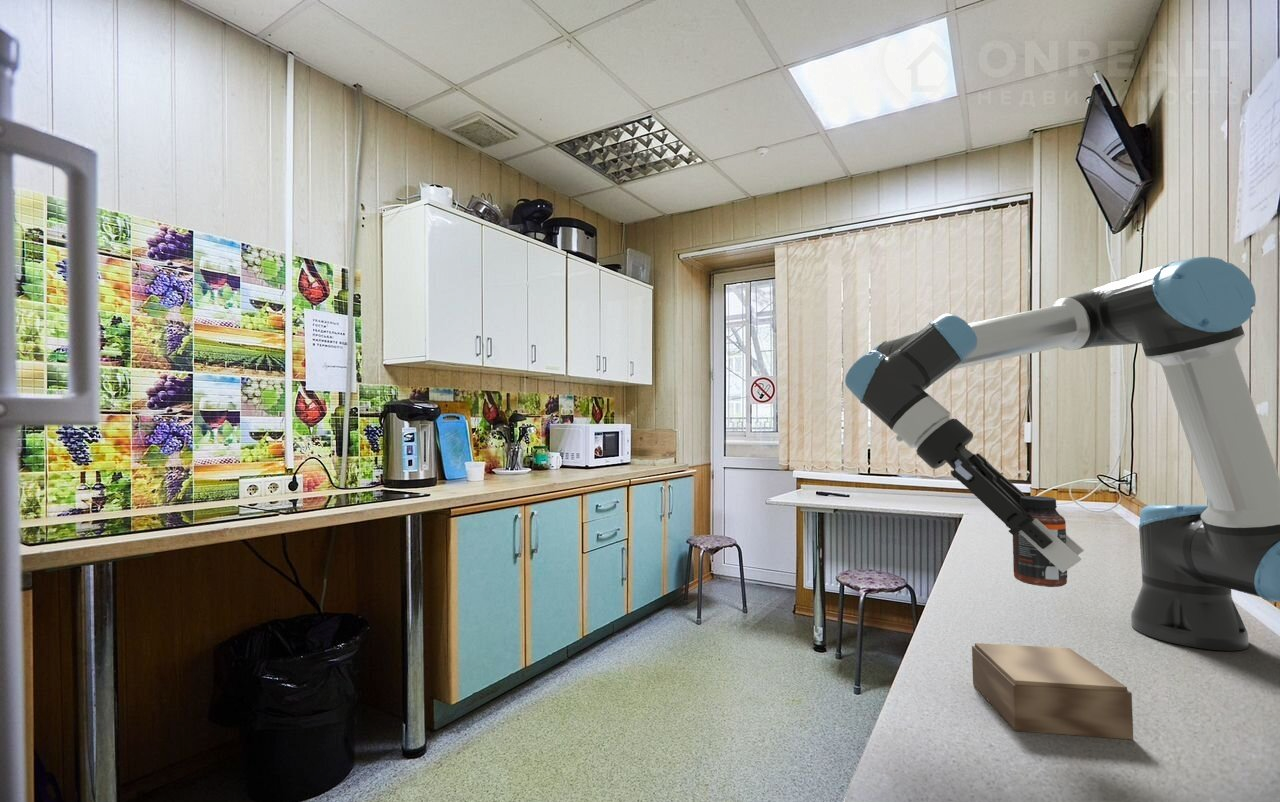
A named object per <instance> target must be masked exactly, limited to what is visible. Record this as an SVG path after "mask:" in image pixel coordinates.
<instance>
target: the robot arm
mask: <svg viewBox="0 0 1280 802" xmlns="http://www.w3.org/2000/svg"><path fill="white" fill-rule="evenodd" d="M1256 301H1257V299H1256V290H1255V288H1254V285H1253V283H1252V281H1251V279H1250V278H1249V277H1248V275H1247V274H1246V273H1245V272H1244V271H1243V270H1242V269H1240V268H1239V267H1238V266H1237V265H1235V264H1234V263H1231V262H1227V261H1225V260H1223V259H1221V258H1218V257H1213V256H1212V257H1211V256H1200V257H1199V256H1198V257H1192V258H1188V259H1182V260H1177V261H1171V262H1170V263H1166V264H1165V265H1162V266H1159V267H1156V268H1152V269H1149V270H1145V271H1142V272H1140V273H1136V274H1132V275H1130V276H1129V275H1128V276H1125V277H1122V278H1119V279H1116V280H1113V281H1110V282H1108V283H1105V284H1103V285H1100V286H1098V287H1095V288H1092V289H1090V290H1087V291H1084V292H1081V293H1078V294H1075V295H1071V296H1066V297H1061V298H1059V299H1057V300H1055V301H1054V302H1053V303H1052V304H1051V306H1047V307H1042V308H1037V309H1032V310H1028V311H1022V312H1018V313H1013V314H1009V315H1004V316H999V317H995V318H989V319H986V320H981V321H976V322H970V323H968V322H967V321H965V319H963V318H961V317H960V316H958V315H955V314H951V313H945V314H942V315H940V316H939V317H937V318H936V319H935V320H933V321H930V322H929V323H928V324H927V325H926V326H925V327H924V328H922V329H920V330H918V331H915V332H912V333H910V334H907V335H904V336H901V337H898V338H895V339H892V340H886V341H883V342H881V343H879V344H878V345H876V346H875V347H874V348H873V349H872V350H871V351H869V352H868V353H866V354H863V355H862V356H861V357H860V358H858V360H856V361H855V362H854V363H853V364H852V366H851V367H850V368H849V370H848V371H847V373H846V375H845V377H844V378H845V379H844V382H845V386H846V387H847V388H848V390H850V392H851V393H852V394H853V395H854V396H855V397H856V399H858V401H859V402H860V403H861V404H863V406H864V407H866V408H867V409H868V410H870V412H871V413H873V414H874V415H875V416H876V417H878V419H880V420H881V421H882V422H883V423H884V424H885V425H886V426H887V427H888V428H889V429H890V430H891V431H892V432H893V433H895V434H897V436H896V438H895V439H896V441H897V442H900V443H901V442H904V443H905V444H906V445H907V446H908V447H909V448H910V449H916V448H917V449H916V450H915V451H916V455H917V456H918V457H920V458H921V459H922V461H924V462H925V463H926V464H927V465H928V466H929V467H930V468H931V469H933V470H936V469H939V468H941V467H943V466H944V465H945V464H948V465H949V467H950V468H952V469H953V470H952V471H951V472H950V474H951V476H952V477H953V478H954V479H956V480H957V481H958V482H960V483H961V484H962V485H963V486H964V487H966V488H967V489H968V490H969V491H970V492H971V493H972V494H973V496H975V497H976V498H977V499H978V500H979V501H981V503H982V504H983V505H985V507H987V508H988V509H989V510H990V511H991V512H992V513H993V514H994V515H995V516H996V517H997V518H998V519H999V520H1000V521H1002V522H1003V524H1005V526H1006V528H1008V529H1009V530H1008V532H1009V534H1011V535H1012V536H1013V535H1015V534H1016V533H1017V532H1019V533H1020V534H1021V535H1022V536H1023V537H1024V538H1026V539H1027V540H1028V541H1029V542H1030V543H1031V544H1032V545H1033V546H1034V547H1035V548H1036V549H1037V550H1039V551H1040V552H1041V553H1042V554H1043V555H1044V556H1045V557H1046V558H1047V559H1048V560H1049V561H1050V562H1051V563H1053V564H1054V565H1055V566H1056V567H1057V568H1058V569H1059V570H1060V571H1061V572H1062V573H1064V572H1065V571H1066V570H1067V571H1068V570H1069V569H1071V568H1072V567H1074V566H1075V565H1076V564H1078V563H1079V562H1081V561H1082V558H1081V557H1080V556H1079V555H1080V554H1081V553H1083V552H1085V549H1084V548H1083V547H1082V546H1080V545H1079V544H1078V543H1077V542H1076V541H1075V540H1074V539H1072V538H1071V537H1070V536H1069V535H1068V534H1067V533H1066V544H1065V543H1063V542H1062V541H1061V540H1060V539H1059V538H1058V537H1057V536H1056V535H1054V534H1053V533H1052V532H1051V531H1050V530H1049V529H1048V528H1047V527H1046V526H1044V525H1043V524H1042V523H1041V522H1040V521H1039V520H1038V519H1037V518H1036V519H1035V520H1034V519H1033V518H1032V516H1031V515H1030V514H1028V513H1027V512H1026V511H1025V510H1024V509H1023V508H1022V507H1021V506H1020V497H1021V496H1027V495H1026V494H1024V492H1022V491H1021V490H1020V489H1019V488H1018V487H1016V485H1014V484H1013V483H1012V482H1011V481H1010V480H1009V479H1008V478H1006V476H1004V475H1003V474H1002V473H1001V472H1000V471H998V470H997V469H996V468H995V467H994V466H993V465H992V464H991V463H990V462H989V461H988V460H987V459H986V457H984V456H983V455H982V454H980V453H979V452H977V453H976V454H975V453H972V452H971V451H970V450H968V449H967V448H966V446H967V445H969V443H971V441H972V440H973V438H974V433H973V432H972V431H971V430H970V429H969V428H968V427H966V425H964V423H962V422H961V421H960V420H959V419H957V418H951V412H950V411H948V410H947V408H945V407H944V406H943V405H942V404H941V403H939V402H938V401H937V400H936V399H935V398H933V396H931V395H930V394H929V393H927V392H926V391H925V390H927V389H928V388H930V386H931V385H933V384H934V383H935V382H937V381H938V380H939V379H941V378H942V377H943V376H945V375H946V374H947V373H948V372H950V371H953V370H958V369H964V368H967V367H968V368H969V367H972V366H976V365H981V364H986V363H991V362H995V361H1001V360H1005V359H1011V358H1015V357H1021V356H1024V355H1030V354H1033V353H1039V352H1044V351H1048V350H1053V349H1059V348H1061V349H1063V350H1065V351H1076V350H1080V349H1086V348H1087V349H1088V348H1096V347H1107V346H1109V347H1110V346H1111V347H1112V346H1124V345H1135V344H1140V345H1141V347H1142V350H1143V353H1144V356H1145V358H1146V359H1149V360H1150V361H1153V362H1155V363H1158V364H1159V365H1161V368H1162V370H1163V373H1164V376H1165V378H1166V383H1167V385H1168V388H1169V390H1170V395H1171V397H1172V400H1173V402H1174V405H1175V408H1176V409H1175V410H1176V411H1177V414H1178V417H1179V420H1180V423H1181V426H1182V428H1183V431H1184V435H1185V437H1186V441H1187V444H1188V446H1189V449H1190V452H1191V455H1192V458H1193V461H1194V465H1195V467H1196V470H1197V473H1198V475H1199V478H1200V482H1201V484H1202V487H1203V491H1204V493H1205V496H1206V499H1207V502H1208V504H1205V505H1204V504H1198V505H1197V504H1196V505H1195V504H1193V505H1192V504H1180V505H1179V504H1175V505H1174V504H1171V505H1170V504H1169V505H1168V504H1166V505H1165V504H1164V505H1162V504H1161V505H1159V504H1155V505H1146V506H1144V507H1143V508H1142V509H1140V516H1139V524H1138V530H1139V531H1138V532H1139V545H1140V547H1139V549H1140V564H1141V582H1142V583H1141V588H1140V591H1139V593H1138V595H1137V597H1136V599H1135V600H1136V601H1135V603H1134V606H1133V609H1132V611H1131V614H1130V620H1131V622H1130V623H1131V627H1132V628H1133V629H1134V630H1135V631H1137V632H1139V633H1140V634H1143V635H1145V636H1148V637H1152V638H1154V639H1157V640H1159V641H1163V642H1166V643H1167V642H1168V643H1172V644H1175V645H1180V646H1185V647H1189V648H1196V649H1204V650H1212V651H1224V652H1225V651H1229V652H1231V651H1233V652H1234V651H1241V650H1246V649H1247V648H1248V647H1249V633H1248V630H1247V628H1246V626H1245V623H1244V622H1243V620H1242V616H1241V615H1240V613H1239V611H1238V608H1237V607H1236V604H1235V602H1234V600H1233V597H1232V596H1233V594H1232V590H1234V591H1237V592H1241V593H1244V594H1248V595H1251V596H1254V597H1258V598H1262V600H1265V601H1269V602H1272V603H1280V475H1279V473H1278V470H1277V467H1276V464H1275V462H1274V459H1273V456H1272V455H1273V454H1272V453H1271V449H1270V447H1269V443H1268V441H1267V438H1266V435H1265V432H1264V430H1263V426H1262V424H1261V421H1260V418H1259V416H1258V415H1259V414H1258V413H1257V410H1256V407H1255V403H1254V400H1253V398H1252V394H1251V391H1250V389H1249V387H1248V383H1247V380H1246V378H1245V375H1244V372H1243V369H1242V365H1241V363H1240V360H1239V358H1238V355H1237V351H1236V347H1237V346H1238V344H1240V342H1241V341H1242V340H1243V338H1245V336H1246V335H1245V331H1244V329H1243V324H1245V323H1246V322H1247V321H1248V320H1249V319H1250V318H1251V316H1252V314H1253V313H1254V310H1253V309H1252V308H1253V307H1255V306H1256V303H1257V302H1256ZM1031 521H1032V522H1031Z"/></svg>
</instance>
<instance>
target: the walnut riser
mask: <svg viewBox="0 0 1280 802" xmlns="http://www.w3.org/2000/svg"><path fill="white" fill-rule="evenodd" d="M971 654H972V655H971V656H972V657H971V658H972V659H971V661H972V663H971V664H972V685H973V686H974V687H975V688H976V689H977V691H978V692H980V693H981V695H983V697H984V698H985V699H986V701H988V703H989V704H990V705H991V706H992V708H994V709H995V710H996V711H997V712H998V713H999V715H1000V716H1001V717H1002V718H1003V719H1004V720H1005V722H1007V724H1008V725H1009V726H1010V727H1011V728H1012V729H1013V730H1014V732H1015V731H1016V732H1025V733H1026V732H1028V733H1039V734H1041V733H1042V734H1056V735H1065V736H1066V735H1068V736H1069V735H1070V736H1081V737H1095V738H1107V739H1123V740H1134V723H1133V721H1134V719H1133V695H1132V691H1130V690H1128V687H1127V685H1124V684H1123V683H1122V682H1120V681H1118V680H1117V679H1115V678H1114V677H1112V676H1111V675H1110V674H1108V673H1107V672H1105V671H1104V670H1102V669H1101V668H1100V667H1098V666H1097V665H1095V664H1094V663H1092V662H1091V661H1089V660H1088V659H1086V658H1084V657H1083V656H1082V655H1080V654H1078V653H1077V652H1076V651H1075V650H1073V649H1071V648H1070V647H1060V646H1059V647H1057V646H1056V647H1055V646H1054V647H1053V646H1039V645H1038V646H1037V645H1036V646H1035V645H1019V644H1018V645H1017V644H1016V645H1015V644H997V643H980V642H975V643H974V645H971Z"/></svg>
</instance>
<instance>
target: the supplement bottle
mask: <svg viewBox="0 0 1280 802" xmlns="http://www.w3.org/2000/svg"><path fill="white" fill-rule="evenodd" d="M1020 506H1021V507H1022V508H1023V509H1024V510H1025V511H1026V512H1027V513H1028V514H1030V515H1031V516H1032V518H1033V519H1034V520H1035V519H1036V518H1037V519H1038V520H1039V521H1040V522H1041V523H1042V524H1043V525H1044V526H1046V527H1047V528H1048V529H1049V530H1050V531H1051V532H1052V533H1053V534H1054V535H1056V536H1057V537H1058V538H1059V539H1060V540H1061V541H1062V542H1063V543H1065V544H1066V534H1067V529H1066V523H1067V522H1066V519H1065V518H1064V516H1063V515H1061V514H1060V513H1059V512H1058V511H1057V507H1058V506H1057V500H1056V498H1055V497H1051V496H1039V495H1026V496H1021V497H1020ZM1031 522H1032V521H1031ZM1012 555H1013V557H1012V561H1013V562H1012V563H1013V576H1014V578H1015V579H1016V580H1017V581H1019V582H1021V583H1024V584H1027V585H1031V586H1032V585H1033V586H1039V587H1046V588H1057V587H1058V588H1059V587H1063V586H1065V585H1066V584H1067V582H1068V570H1066V571H1065V572H1064V573H1062V572H1061V571H1060V570H1059V569H1058V568H1057V567H1056V566H1055V565H1054V564H1053V563H1051V562H1050V561H1049V560H1048V559H1047V558H1046V557H1045V556H1044V555H1043V554H1042V553H1041V552H1040V551H1039V550H1037V549H1036V548H1035V547H1034V546H1033V545H1032V544H1031V543H1030V542H1029V541H1028V540H1027V539H1026V538H1024V537H1023V536H1022V535H1021V534H1020V533H1019V532H1017V533H1016V534H1015V535H1012Z"/></svg>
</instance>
